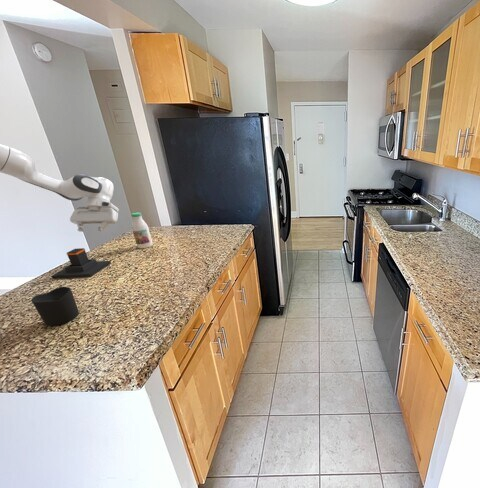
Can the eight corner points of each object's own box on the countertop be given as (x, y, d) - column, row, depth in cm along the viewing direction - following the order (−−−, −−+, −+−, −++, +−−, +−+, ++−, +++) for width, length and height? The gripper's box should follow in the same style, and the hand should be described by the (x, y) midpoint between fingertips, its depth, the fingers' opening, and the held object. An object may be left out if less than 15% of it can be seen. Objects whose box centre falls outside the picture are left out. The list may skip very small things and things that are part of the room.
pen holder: (73, 323, 88) (61, 298, 84) (37, 330, 85) (24, 304, 81) (85, 308, 96) (75, 284, 92) (53, 313, 93) (42, 289, 89)
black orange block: (73, 270, 121) (66, 252, 117) (81, 265, 126) (75, 248, 122) (82, 270, 121) (75, 252, 118) (91, 265, 126) (84, 248, 122)
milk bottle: (141, 244, 155) (132, 211, 148) (155, 243, 156) (146, 211, 148) (134, 249, 148) (124, 215, 141) (148, 248, 149) (139, 214, 141)
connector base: (52, 278, 117) (49, 270, 115) (77, 264, 130) (74, 257, 128) (90, 276, 118) (87, 269, 117) (111, 263, 131) (108, 256, 130)
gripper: (71, 203, 131) (62, 228, 125) (114, 203, 132) (107, 227, 127) (81, 210, 136) (73, 234, 131) (122, 209, 138) (116, 232, 133)
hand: (90, 230), depth 129 cm, fingers open, 8 cm apart
